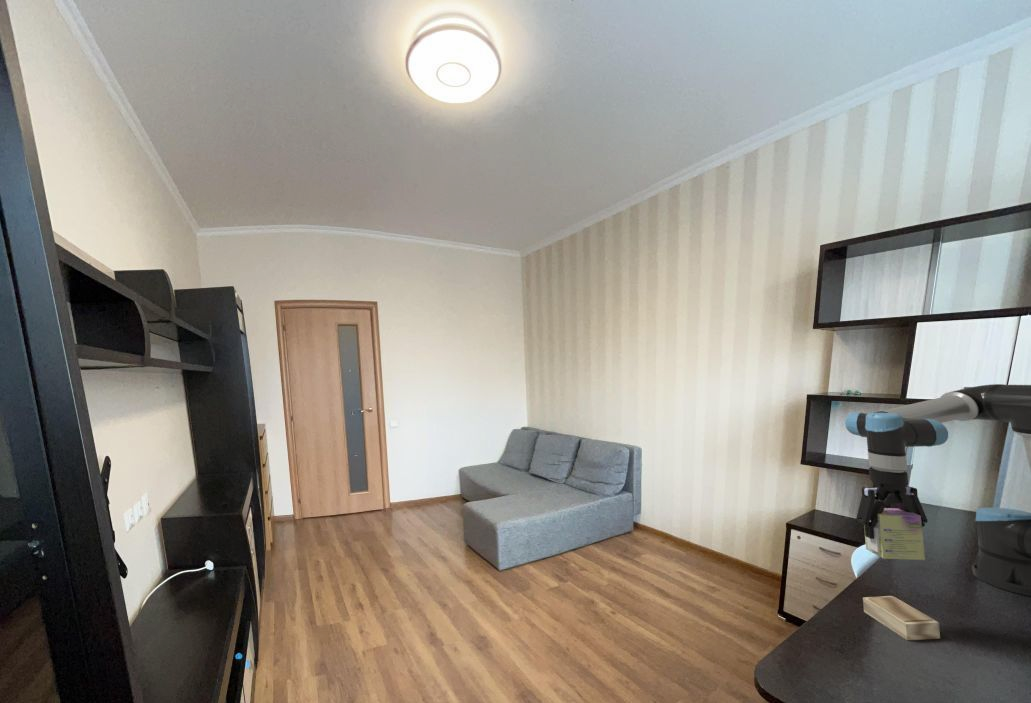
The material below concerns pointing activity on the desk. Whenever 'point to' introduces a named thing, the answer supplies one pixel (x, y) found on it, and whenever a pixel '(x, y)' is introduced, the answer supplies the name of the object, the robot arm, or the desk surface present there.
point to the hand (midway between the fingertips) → (893, 549)
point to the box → (899, 535)
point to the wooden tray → (901, 618)
